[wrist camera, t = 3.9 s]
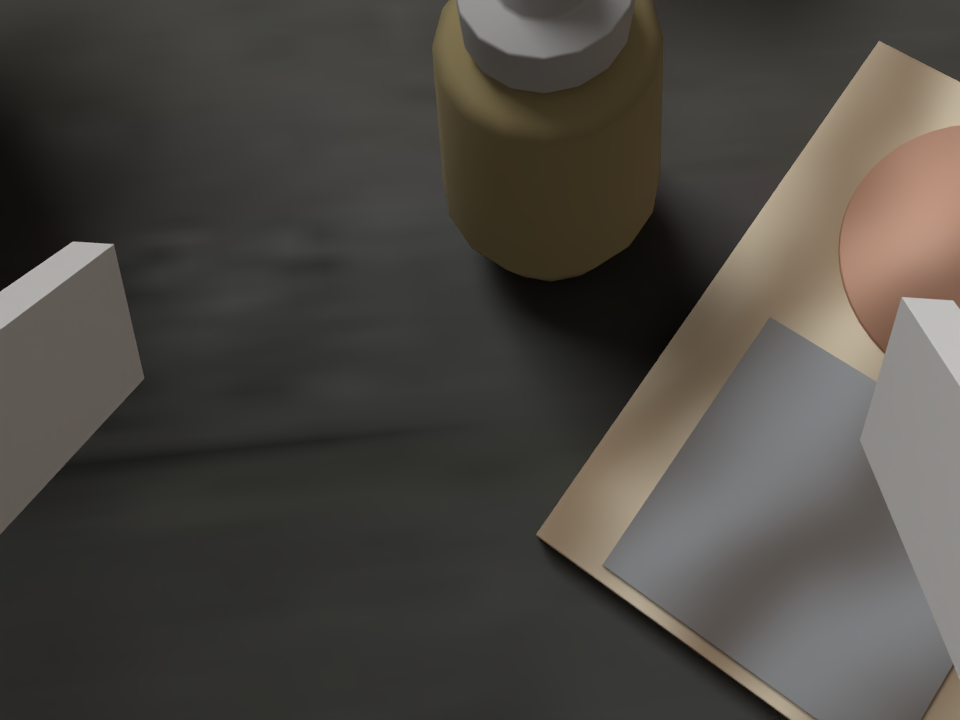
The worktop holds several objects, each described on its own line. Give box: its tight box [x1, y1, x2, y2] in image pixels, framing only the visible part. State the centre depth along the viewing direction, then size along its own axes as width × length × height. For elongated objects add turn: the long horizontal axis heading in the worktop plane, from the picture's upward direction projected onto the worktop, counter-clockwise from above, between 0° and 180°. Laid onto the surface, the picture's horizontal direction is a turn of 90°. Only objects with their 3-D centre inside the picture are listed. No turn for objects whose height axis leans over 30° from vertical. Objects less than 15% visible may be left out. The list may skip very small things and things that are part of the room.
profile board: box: [536, 41, 960, 720], centre depth 31 cm, size 16×24×2 cm, turn 144°
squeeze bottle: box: [432, 0, 663, 282], centre depth 26 cm, size 8×8×18 cm
